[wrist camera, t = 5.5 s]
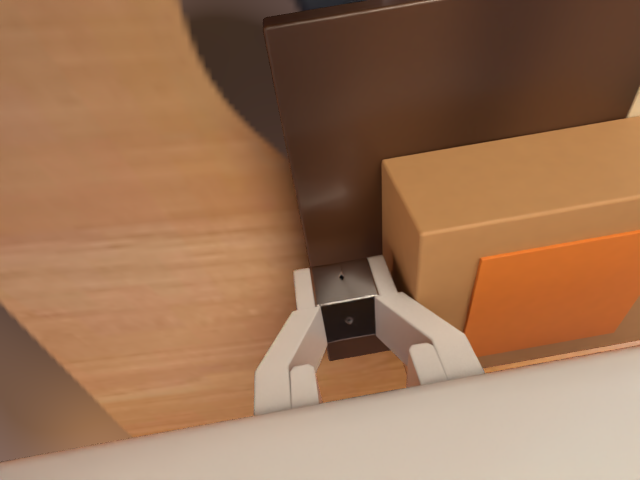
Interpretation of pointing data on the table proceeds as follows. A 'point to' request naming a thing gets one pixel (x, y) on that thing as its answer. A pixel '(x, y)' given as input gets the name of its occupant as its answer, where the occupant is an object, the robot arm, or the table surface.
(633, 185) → the coffee packet
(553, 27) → the board
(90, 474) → the robot arm
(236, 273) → the table surface
